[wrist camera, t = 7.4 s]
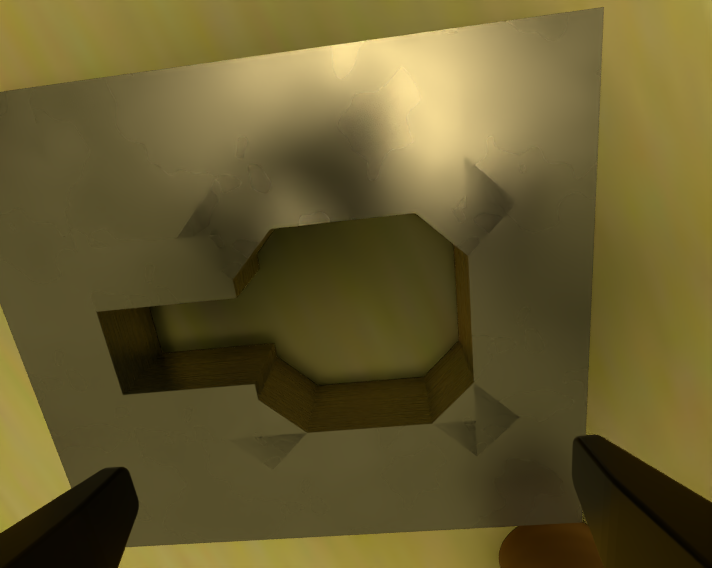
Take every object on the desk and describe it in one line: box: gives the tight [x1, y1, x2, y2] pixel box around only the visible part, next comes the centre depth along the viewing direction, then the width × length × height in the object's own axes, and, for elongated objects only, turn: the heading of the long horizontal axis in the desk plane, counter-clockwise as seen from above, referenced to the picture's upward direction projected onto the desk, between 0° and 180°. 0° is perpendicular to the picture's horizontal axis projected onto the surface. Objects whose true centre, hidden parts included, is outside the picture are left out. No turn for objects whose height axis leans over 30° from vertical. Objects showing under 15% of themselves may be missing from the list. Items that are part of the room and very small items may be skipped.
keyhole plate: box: [0, 7, 604, 547], centre depth 16 cm, size 18×16×3 cm
